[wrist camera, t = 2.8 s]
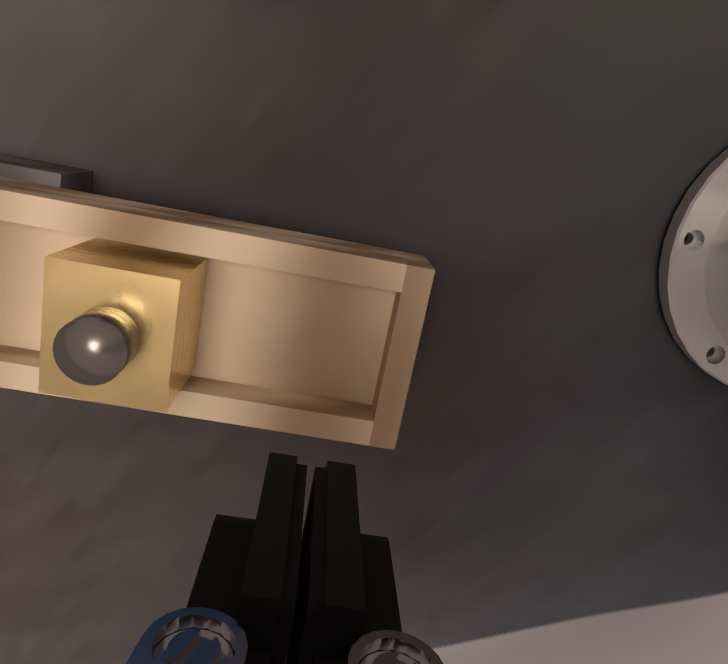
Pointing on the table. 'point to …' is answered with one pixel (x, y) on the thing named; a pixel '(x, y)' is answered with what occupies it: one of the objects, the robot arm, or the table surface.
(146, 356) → the rider
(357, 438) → the beam
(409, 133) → the table surface
